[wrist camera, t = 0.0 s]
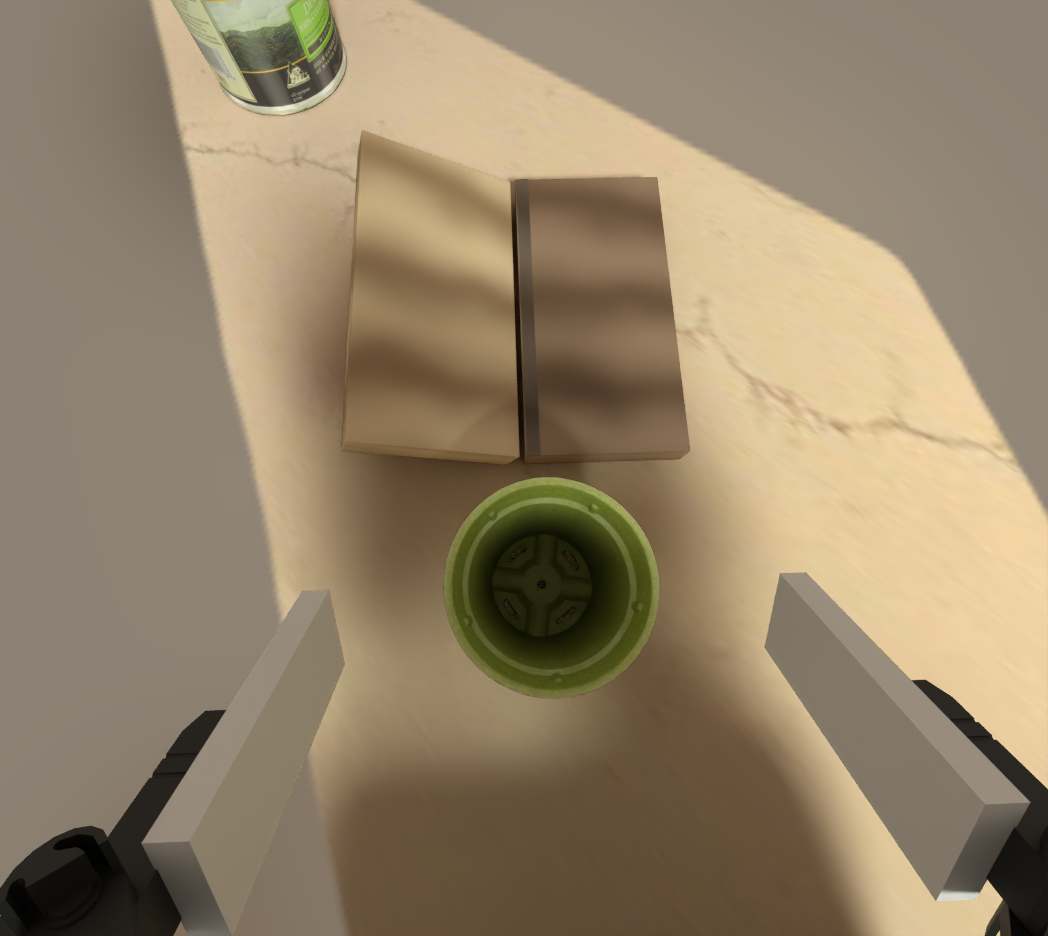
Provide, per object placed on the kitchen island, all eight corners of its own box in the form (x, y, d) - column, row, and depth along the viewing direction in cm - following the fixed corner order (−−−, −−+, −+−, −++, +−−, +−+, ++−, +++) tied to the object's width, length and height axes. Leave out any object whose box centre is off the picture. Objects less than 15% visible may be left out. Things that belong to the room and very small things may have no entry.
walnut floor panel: (679, 459, 31) (690, 450, 29) (524, 463, 31) (525, 455, 29) (649, 199, 36) (657, 176, 34) (515, 202, 36) (515, 179, 34)
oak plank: (506, 464, 31) (519, 456, 30) (341, 451, 27) (345, 441, 25) (499, 202, 36) (510, 182, 34) (357, 155, 32) (361, 130, 30)
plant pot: (548, 476, 31) (559, 436, 23) (651, 592, 29) (704, 594, 21) (433, 574, 30) (399, 569, 21) (535, 701, 28) (542, 751, 20)
